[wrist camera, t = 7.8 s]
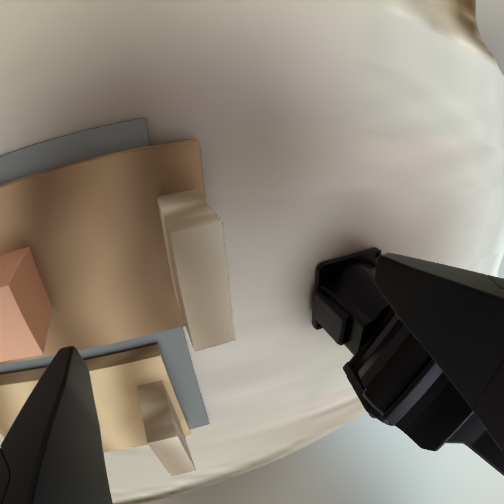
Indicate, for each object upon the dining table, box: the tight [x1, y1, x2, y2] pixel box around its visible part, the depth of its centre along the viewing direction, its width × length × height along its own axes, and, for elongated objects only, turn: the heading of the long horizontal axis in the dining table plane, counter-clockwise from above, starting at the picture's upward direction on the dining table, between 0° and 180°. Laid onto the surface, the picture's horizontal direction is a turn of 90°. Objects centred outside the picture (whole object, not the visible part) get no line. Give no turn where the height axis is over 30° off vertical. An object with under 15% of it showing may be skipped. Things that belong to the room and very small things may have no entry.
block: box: [0, 247, 53, 362], centre depth 12 cm, size 4×4×4 cm
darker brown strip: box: [0, 139, 235, 365], centre depth 13 cm, size 18×11×6 cm, turn 93°
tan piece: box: [0, 344, 196, 476], centre depth 18 cm, size 18×11×6 cm, turn 93°
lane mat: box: [0, 118, 209, 429], centre depth 18 cm, size 20×27×1 cm
